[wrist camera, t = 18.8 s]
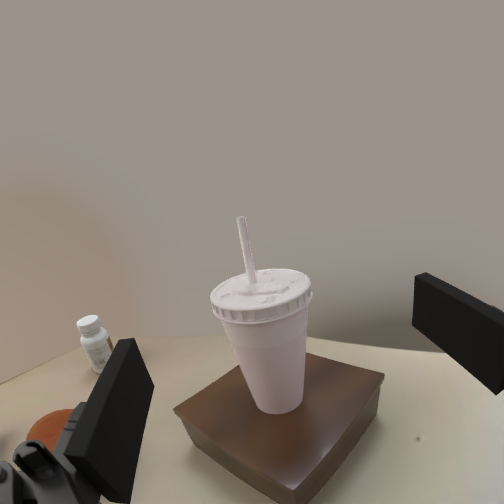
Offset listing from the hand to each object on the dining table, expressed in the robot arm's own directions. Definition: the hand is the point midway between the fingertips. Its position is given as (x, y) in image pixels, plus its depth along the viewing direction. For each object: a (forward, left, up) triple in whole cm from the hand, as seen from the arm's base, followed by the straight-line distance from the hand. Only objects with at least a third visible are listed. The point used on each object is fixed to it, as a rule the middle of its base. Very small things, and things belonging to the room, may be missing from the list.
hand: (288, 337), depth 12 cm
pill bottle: (+32, +3, -15) cm, 35 cm away
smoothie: (+5, -4, -10) cm, 12 cm away
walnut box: (+5, -4, -14) cm, 16 cm away
